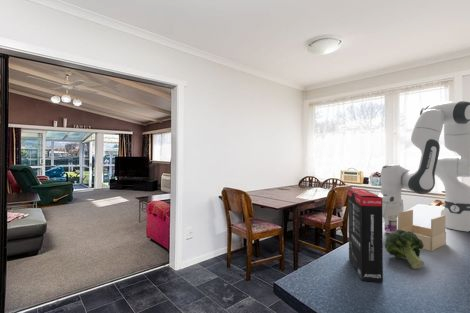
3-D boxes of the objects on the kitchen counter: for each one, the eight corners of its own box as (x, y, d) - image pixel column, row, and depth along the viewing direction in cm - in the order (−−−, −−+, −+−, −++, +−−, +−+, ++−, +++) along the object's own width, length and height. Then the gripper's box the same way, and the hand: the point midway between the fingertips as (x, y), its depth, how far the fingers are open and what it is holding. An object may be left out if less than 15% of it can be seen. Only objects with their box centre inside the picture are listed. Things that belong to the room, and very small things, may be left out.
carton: (412, 235, 120) (412, 209, 120) (445, 244, 109) (446, 215, 109) (396, 241, 112) (397, 213, 112) (431, 251, 101) (432, 219, 101)
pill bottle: (381, 230, 126) (381, 212, 126) (391, 230, 126) (391, 211, 126) (389, 234, 120) (389, 214, 120) (399, 233, 121) (399, 214, 121)
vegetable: (391, 263, 85) (373, 232, 98) (409, 283, 88) (389, 250, 101) (427, 248, 80) (403, 217, 93) (444, 269, 84) (419, 237, 97)
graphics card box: (384, 284, 75) (385, 195, 75) (360, 282, 76) (360, 195, 76) (366, 260, 92) (366, 188, 92) (346, 259, 93) (347, 187, 93)
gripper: (394, 193, 131) (393, 219, 132) (373, 197, 121) (373, 225, 121) (407, 195, 126) (407, 221, 126) (387, 199, 115) (386, 228, 115)
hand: (390, 223), depth 123 cm, fingers closed on pill bottle, 5 cm apart
